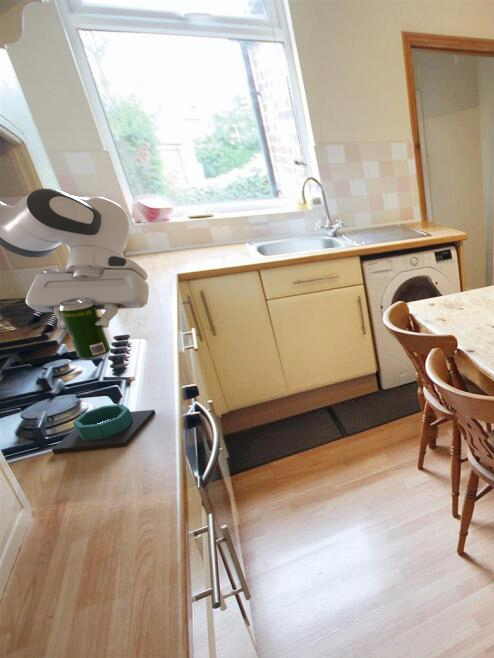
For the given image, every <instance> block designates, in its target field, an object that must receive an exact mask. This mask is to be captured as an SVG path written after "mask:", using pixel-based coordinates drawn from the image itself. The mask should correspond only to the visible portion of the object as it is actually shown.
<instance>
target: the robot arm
mask: <svg viewBox="0 0 494 658" xmlns="http://www.w3.org/2000/svg"><path fill="white" fill-rule="evenodd" d="M129 234H130V219H129V215H128V214H127V212H126V210H125V209H124V208H123V207H122V206H121V205H120V204H118V203H117V202H115V201H113V200H111V199H108V198H104V197H101V196H91V197H81V196H75V195H70V194H69V193H66V192H64V191H62V190H59V189H54V188H38V189H35V190H33V191H31V192H30V193H28V194H27V195H25V196H24V197H23V198H21V199H20V200H19V201H18V202H17V203H16V204H14V205H9V204H6V203H3V202H2V201H0V246H1V247H3V248H4V249H5V250H7V251H9V252H11V253H13V254H16V255H18V256H22V257H25V258H26V257H27V258H43V257H46V256H49V255H51V254H52V253H54V252H55V251H56V250H57V249H58V248H59V247H60V246H61V245H66V246H68V247H69V249H70V250H69V254H68V258H67V263H66V267H65V268H60V269H45V270H44V271H42V272H39V273H37V274H36V275H35V277H34V280H33V282H32V284H31V286H30V287H29V290H28V292H27V294H26V298H25V304H26V305H27V306H28V307H29V308H30V309H32V310H34V311H36V312H39V313H54V315H55V318H56V319H57V323H56V327H57V329H59V330H60V331H66V330H67V328H66V325H65V322H64V320H63V317H62V315H61V312H60V310H59V308H60V305H59V303H60V302H62V301H65V300H69V299H75V298H79V299H86V298H91V300H92V302H93V303H94V304H95V307H96V310H97V311H101V310H102V311H104V312H103V313H102V314H101V316H99V317H97V318H96V322H95V325H96V326H97V327H99V328H103V329H104V328H107V329H108V328H109V326H110V321H112V319H113V318H114V317H116V315H117V314H118V312H119V310H124V309H142V308H144V307H145V306H146V305H147V304H148V302H149V290H150V289H149V283H148V282H147V280H148V277H149V275H148V273H147V271H146V270H145V268H143V267H142V266H141V265H140V264H138V263H137V262H136V261H135V260H133V259H132V258H129V257H124V251H125V249H126V248H127V246H128V241H129ZM67 331H68V330H67Z"/></svg>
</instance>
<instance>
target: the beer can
mask: <svg viewBox="0 0 494 658" xmlns="http://www.w3.org/2000/svg"><path fill="white" fill-rule="evenodd" d="M59 305H60V308H59V310H60V312H61V315H62V317H63V320H64V322H65V325H66V328H67V333H68V335H69V337H70V340H71V343H72V346H73V348H74V350H75V353H76V356H77V358H79V359H80V360H81V361H94V360H99V359H102V358H105V357H107V356H109V355H110V354H111V346H110V343H109V341H108V338H107V334H106V333H105V329H104V328H99V327H97V326H96V325H95V322H96V318H97V317H100V316H99V312H98V310H96V307H95V304H94V303H93V302H92V300H91V298H86V299H79V298H75V299H69V300H65V301H62V302H60V303H59Z"/></svg>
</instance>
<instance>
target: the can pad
mask: <svg viewBox="0 0 494 658" xmlns="http://www.w3.org/2000/svg"><path fill="white" fill-rule="evenodd" d="M155 415H156V411H155V409H148V410H147V409H145V410H135V411H130V408H128V407H127V406H126V405H124V404H121V403H120V404H110V405H108V404H107V405H102V406H99V407H97V408H94V409H91V410H87V411H85V412H83V413H82V414H80V415H79V416H78V417H77V418H76V419H74V420H73V421H72V425H73V426H74V429H73V430H72V431H71V432H70V433H68V434H67V435H66V436H65V437H64V438H63V439H62V440H61V441H59V442H58V443H57V444H56V445H55V446H54V447H52V448H51V451H52V453H53V455H54V454H63V453H73V452H74V453H75V452H83V451H92V450H102V449H103V450H104V449H113V448H122V447H123V448H124V447H127V446H128V445H129V444H130V442H132V440H133V439H134V438H135V437H136V436H137V435H138V434H139V433H140V432H141V430H142V429H143V428H144V427H145V426H146V425H147V424H148V423H149V422H150V421H151V419H152V418H153V417H154V416H155ZM113 418H114V419H113ZM107 419H111V420H109V421H106V422H103V423H101V424H97V423H100V422H102V421H105V420H107Z"/></svg>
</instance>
